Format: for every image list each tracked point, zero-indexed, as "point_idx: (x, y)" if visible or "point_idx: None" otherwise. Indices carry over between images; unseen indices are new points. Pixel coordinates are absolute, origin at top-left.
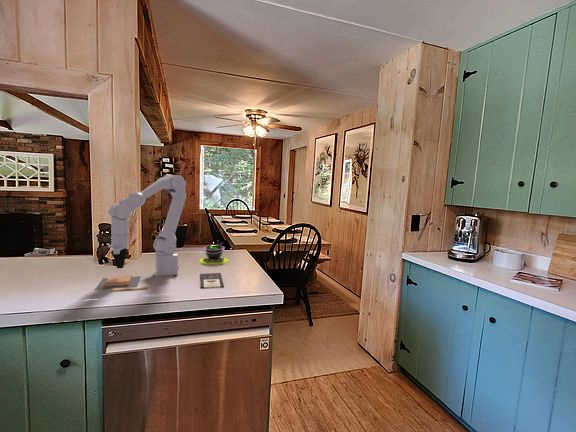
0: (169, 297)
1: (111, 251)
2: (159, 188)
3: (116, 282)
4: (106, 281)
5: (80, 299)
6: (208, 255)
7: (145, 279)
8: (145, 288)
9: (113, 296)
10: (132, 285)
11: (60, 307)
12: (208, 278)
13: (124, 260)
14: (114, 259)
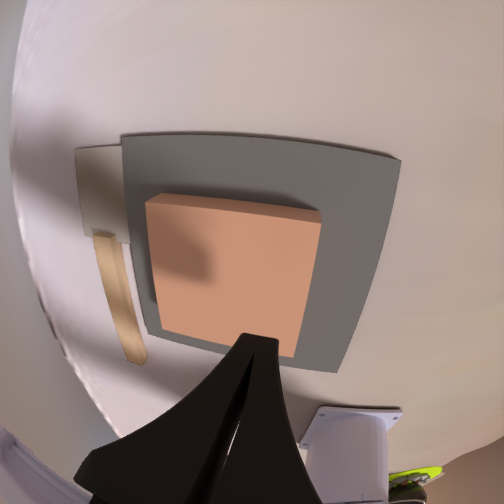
0: (89, 371)
1: (94, 494)
2: None
3: (154, 268)
4: (166, 208)
5: (51, 114)
6: (398, 494)
7: (289, 377)
8: (126, 353)
9: (70, 240)
10: None
11: (16, 84)
12: (224, 464)
13: (231, 437)
14: (178, 403)
